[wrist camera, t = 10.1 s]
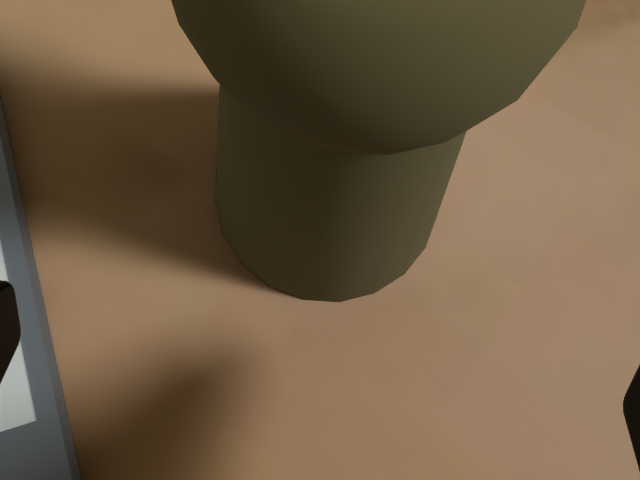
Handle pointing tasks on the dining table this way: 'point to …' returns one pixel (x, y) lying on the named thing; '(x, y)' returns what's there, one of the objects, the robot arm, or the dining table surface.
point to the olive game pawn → (354, 122)
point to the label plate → (29, 354)
